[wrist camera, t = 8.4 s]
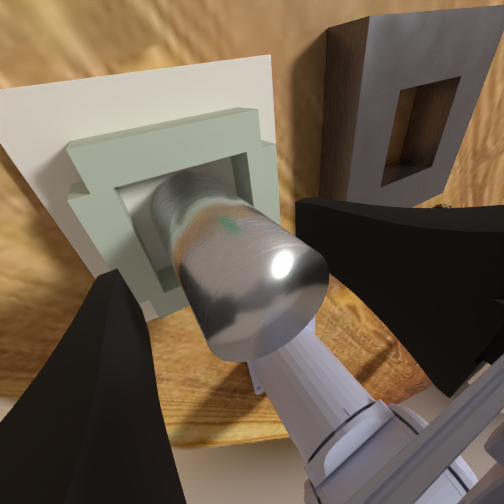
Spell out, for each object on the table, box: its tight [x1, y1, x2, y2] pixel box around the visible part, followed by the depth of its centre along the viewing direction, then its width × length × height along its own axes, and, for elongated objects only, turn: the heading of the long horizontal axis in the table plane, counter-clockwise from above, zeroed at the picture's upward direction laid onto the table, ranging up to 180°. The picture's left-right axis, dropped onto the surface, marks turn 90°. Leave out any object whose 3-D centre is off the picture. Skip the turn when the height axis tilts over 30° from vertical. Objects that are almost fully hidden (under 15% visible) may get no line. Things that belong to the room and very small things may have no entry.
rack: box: [0, 54, 281, 322], centre depth 12 cm, size 12×11×2 cm
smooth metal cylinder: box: [150, 171, 329, 362], centre depth 10 cm, size 4×4×8 cm
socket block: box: [319, 5, 504, 208], centre depth 16 cm, size 12×12×2 cm
